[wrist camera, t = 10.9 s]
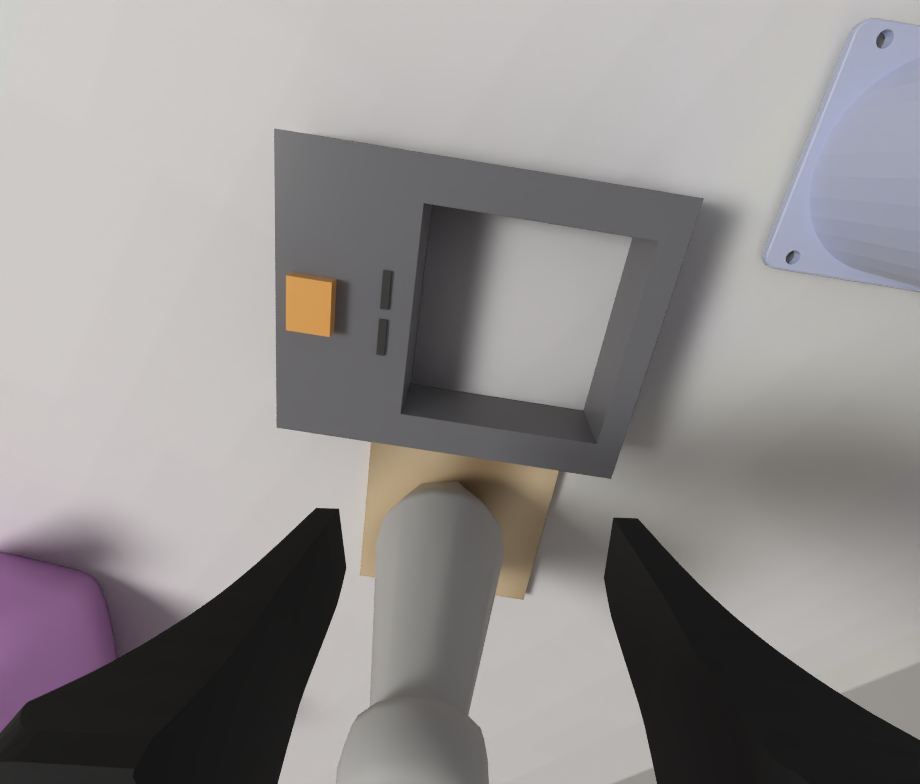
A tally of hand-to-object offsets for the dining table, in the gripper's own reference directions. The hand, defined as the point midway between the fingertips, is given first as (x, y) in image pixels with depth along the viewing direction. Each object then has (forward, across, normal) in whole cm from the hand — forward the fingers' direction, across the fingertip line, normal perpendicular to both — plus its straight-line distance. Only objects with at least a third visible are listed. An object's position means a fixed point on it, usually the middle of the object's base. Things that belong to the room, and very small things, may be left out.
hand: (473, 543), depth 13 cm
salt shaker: (+10, +2, +7) cm, 12 cm away
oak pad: (+10, +1, +7) cm, 13 cm away
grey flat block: (+10, +1, -4) cm, 11 cm away
